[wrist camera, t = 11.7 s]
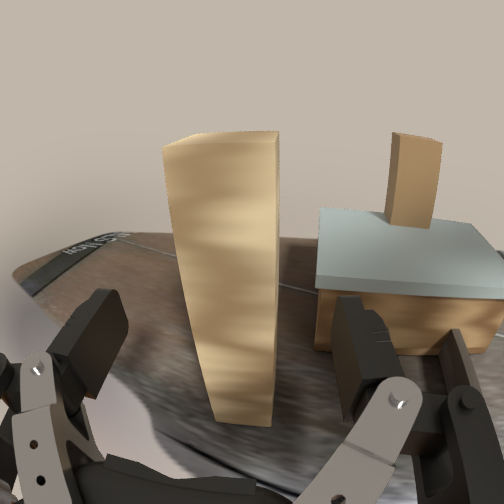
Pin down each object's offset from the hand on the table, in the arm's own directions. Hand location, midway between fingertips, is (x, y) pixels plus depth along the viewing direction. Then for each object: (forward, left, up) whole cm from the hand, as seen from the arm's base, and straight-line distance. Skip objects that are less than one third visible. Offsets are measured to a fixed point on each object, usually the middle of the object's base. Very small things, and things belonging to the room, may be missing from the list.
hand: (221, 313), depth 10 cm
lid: (-12, -14, -4) cm, 19 cm away
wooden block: (0, -3, -10) cm, 11 cm away
